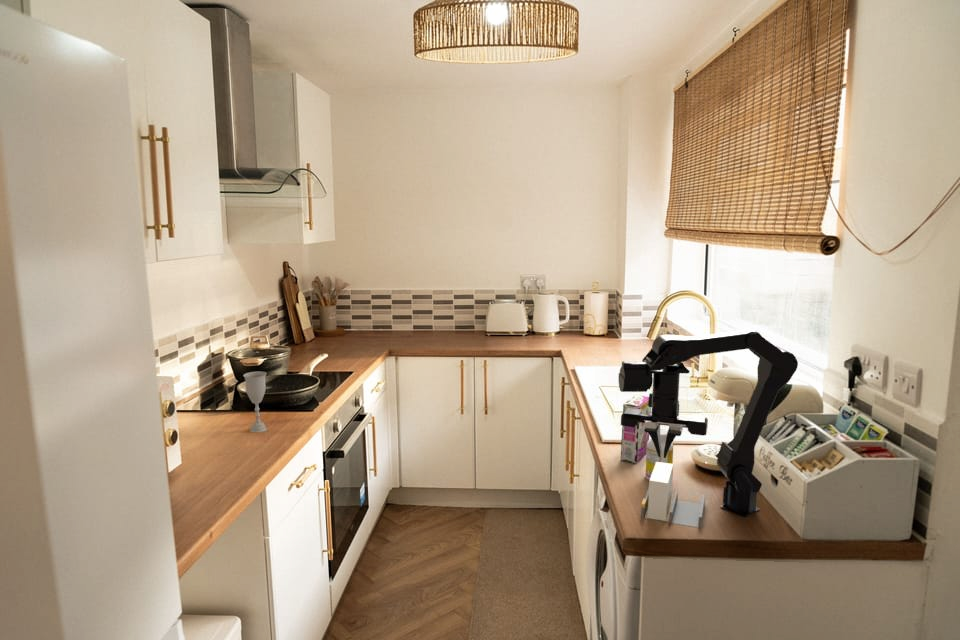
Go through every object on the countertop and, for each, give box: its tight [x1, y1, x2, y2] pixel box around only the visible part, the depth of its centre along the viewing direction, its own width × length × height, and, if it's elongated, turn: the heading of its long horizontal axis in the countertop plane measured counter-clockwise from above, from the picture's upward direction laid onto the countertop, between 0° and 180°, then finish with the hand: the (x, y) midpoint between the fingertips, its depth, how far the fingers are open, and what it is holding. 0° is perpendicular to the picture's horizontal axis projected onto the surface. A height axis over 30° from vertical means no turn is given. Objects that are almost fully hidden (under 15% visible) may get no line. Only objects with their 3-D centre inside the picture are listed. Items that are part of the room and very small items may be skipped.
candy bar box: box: [620, 394, 652, 464], centre depth 191 cm, size 11×5×16 cm, turn 149°
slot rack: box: [640, 487, 706, 529], centre depth 157 cm, size 13×13×4 cm
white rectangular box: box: [648, 462, 674, 521], centre depth 158 cm, size 4×12×9 cm, turn 159°
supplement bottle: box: [645, 428, 674, 480], centre depth 176 cm, size 7×7×13 cm
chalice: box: [242, 370, 268, 434], centre depth 213 cm, size 7×7×18 cm
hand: (662, 457), depth 157 cm, fingers closed
